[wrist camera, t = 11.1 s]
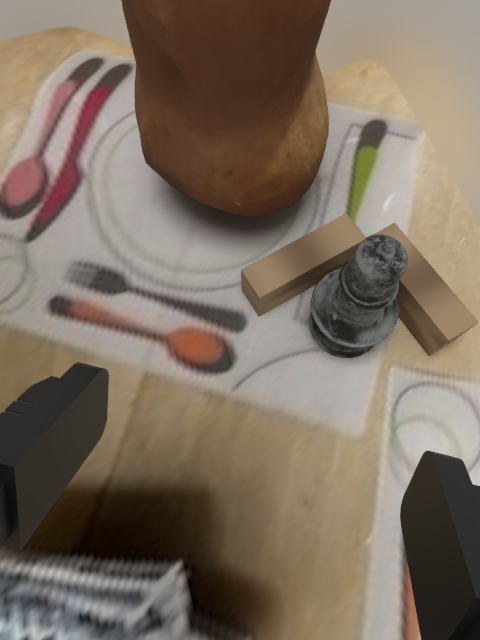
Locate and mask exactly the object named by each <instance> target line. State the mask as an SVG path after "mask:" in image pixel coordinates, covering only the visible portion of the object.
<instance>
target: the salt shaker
mask: <svg viewBox="0 0 480 640" xmlns="http://www.w3.org/2000/svg"><path fill="white" fill-rule="evenodd" d="M407 264H408V255H407V252H406V249H405V248H404V246H403V245H402V244H401V243H400V242H399V241H398V240H397V239H395V238H393V237H391V236H388V235H384V234H376V235H372V236H369V237H367V238H366V239H364V240H363V241H362V242H361V243H360V244H359V246H358V247H357V249H356V251H355V254H354V256H353V258H351V259H349V260H348V261H347V262H346V263H345V264H344V265H343V266H342V268H341V269H337V270H334V271H333V272H331V273H329V274H327V275H326V276H324V277H323V278H322V279H321V280H320V281H319V282H318V284H317V286H316V287H315V289H314V291H313V295H312V299H311V314H310V319H309V325H310V331H311V334H312V337H313V338H314V340H315V341H316V343H317V344H318V345H319V346H320V347H321V348H322V349H323V350H324V351H326V352H328V353H330V354H331V355H334V356H338V357H342V358H353V357H356V356H360V355H362V354H364V353H366V352H368V351H369V350H370V349H371V348H372V347H373V346H374V345H375V344H377V343H379V342H381V341H383V340H384V339H385V338H386V337H387V336H388V335H389V334H390V333H391V332H392V331H393V329H394V327H395V325H396V323H397V319H398V313H399V309H398V301H397V298H396V295H397V293H398V288H399V280H400V279H401V277H402V276H403V274H404V273H405V271H406V269H407Z"/></svg>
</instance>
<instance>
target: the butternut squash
mask: <svg viewBox="0 0 480 640" xmlns="http://www.w3.org/2000/svg"><path fill="white" fill-rule="evenodd" d="M330 2H331V0H122V6H123V11H124V16H125V20H126V23H127V28H128V32H129V36H130V41H131V45H132V49H133V53H134V56H135V60H136V76H135V112H136V118H137V123H138V127H139V132H140V138H141V146H142V152H143V155H144V158H145V161H146V163H147V164H148V165H149V166H150V167H151V168H152V169H153V170H154V171H156V172H157V173H158V174H159V175H160V176H161V177H162V178H163V179H164V180H165V181H167V182H168V183H169V184H170V185H171V186H173V187H174V188H175V189H177V190H178V191H180V192H181V193H183V194H185V195H186V196H188V197H190V198H192V199H194V200H196V201H199V202H201V203H203V204H205V205H208V206H211V207H213V208H216V209H219V210H222V211H226V212H229V213H232V214H236V215H241V216H249V217H260V216H265V215H268V214H271V213H274V212H276V211H279V210H282V209H285V208H288V207H290V206H292V205H293V204H294V203H295V202H296V200H297V199H299V198H300V197H301V196H302V195H303V194H304V193H305V192H307V190H308V189H309V188H310V186H311V185H312V183H313V181H314V179H315V177H316V174H317V172H318V170H319V167H320V165H321V162H322V159H323V155H324V151H325V146H326V141H327V137H328V124H329V119H328V108H327V100H326V94H325V88H324V82H323V78H322V75H321V71H320V68H319V64H318V61H317V57H316V52H315V51H316V47H317V44H318V40H319V37H320V34H321V31H322V28H323V25H324V21H325V19H326V15H327V13H328V9H329V6H330Z"/></svg>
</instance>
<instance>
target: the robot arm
mask: <svg viewBox="0 0 480 640" xmlns="http://www.w3.org/2000/svg"><path fill="white" fill-rule="evenodd" d="M108 381H109V375H108V371H107V370H106V369H103V368H99V367H95V366H91V365H87V364H83V363H79V362H78V363H75V364H74V365H73V366H72V367H71V368H70V369H69V370H68V371H67V372H66V373H65V374H64V375H63V376H62V377H61V378H57V377H53V376H51V377H49V378H47V379H45V380H43V381H40V382H38V383H36V384H34V385H32V386H31V387H30V388H28V389H27V390H26V391H25V392H24V393H23V394H22V395H21V396H20V397H18V398H17V401H14V402H13V403H12V404H11V405H10V406H8V407H7V408H6V409H5V412H2V413H1V414H0V548H1V547H2V545H6V546H9V547H12V548H16V549H19V550H22V548H23V547H24V545H25V544H26V543H27V541H28V540H29V538H30V537H31V536H32V534H33V533H34V531H35V530H36V529H37V527H38V526H39V524H40V523H41V522H42V520H43V519H44V517H45V516H46V514H47V513H48V512H49V510H50V509H51V507H52V506H53V505H54V503H55V502H56V500H57V499H58V498H59V496H60V495H61V493H62V492H63V491H64V489H65V488H66V486H67V485H68V484H69V482H70V481H71V479H72V478H73V477H74V475H75V474H76V472H77V471H78V470H79V468H80V467H81V465H82V464H83V462H84V461H85V460H86V458H87V457H88V455H89V454H90V453H91V451H92V450H93V448H94V447H95V446H96V444H97V443H98V441H99V440H100V438H101V436H102V434H103V431H104V429H105V425H106V421H107V406H108ZM400 519H401V527H402V533H403V538H404V544H405V550H406V555H407V561H408V567H409V572H410V578H411V584H412V589H413V595H414V601H415V606H416V612H417V618H418V623H419V629H420V635H421V640H480V486H477V485H473V484H472V482H471V480H470V477H469V475H468V472H467V470H466V467H465V464H464V462H463V461H462V460H461V459H459V458H455V457H451V456H447V455H443V454H439V453H435V452H431V451H426V452H425V453H424V454H423V455H422V457H421V459H420V462H419V464H418V466H417V468H416V470H415V472H414V475H413V477H412V479H411V481H410V483H409V486H408V488H407V490H406V492H405V494H404V497H403V500H402V504H401V513H400Z"/></svg>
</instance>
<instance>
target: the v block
mask: <svg viewBox="0 0 480 640" xmlns="http://www.w3.org/2000/svg"><path fill="white" fill-rule="evenodd" d="M376 234H384V235H388V236H391V237H393V238H395V239H397V240H398V241H399V242H400V243H401V244H402V245H403V246H404V248H405V249H406V252H407V255H408V264H407V269H406V271H405V273H404V274H403V276H402V277H401V279H400V280H399V288H398V293H397V295H396V298H397V301H398V309H399V313H398V317H399V318H400V319H401V320H402V322H403V323H404V324H405V326H406V327H407V328H408V329H409V331H410V332H411V333H412V335H413V336H414V337H415V338H416V340H417V341H418V342H419V344H420V345H421V346H422V347H423V349H424V350H425V351H426V353H427V354H428V355H431V354H432V353H434V352H436V351H437V350H439V349H440V348H442V347H444V346H445V345H447V344H448V343H450V342H452V341H453V340H455V339H456V338H458V337H459V336H460V335H462V334H463V333H465V332H466V331H467V330H469V329H470V328H471V327H473V326H474V325H476V324H477V323H478V321H477V320H476V319H475V317H474V316H473V315H472V314H471V313H470V312H469V310H468V309H467V308H466V307H465V306H464V304H463V303H462V302H461V301H460V300H459V299H458V297H457V296H456V295H455V294H454V293H453V291H452V290H451V289H450V288H449V287H448V285H447V284H446V283H445V282H444V281H443V280H442V278H441V277H440V276H439V275H438V274H437V272H436V271H435V270H434V269H433V268H432V267H431V265H430V264H429V263H428V262H427V261H426V259H425V258H424V257H423V256H422V255H421V253H420V252H419V251H418V250H417V249H416V248H415V246H414V245H413V244H412V243H411V242H410V240H409V239H408V238H407V237H406V236H405V235H404V233H403V232H402V231H401V230H400V229H399V227H398V226H397V225H396V224H395V223H393V224H392V225H390V226H388V227H386V228H384V229H383V230H381V231H379V232H377V233H375V234H374V235H376ZM364 239H366V237H365V236H364V234H363V233H362V232H361V231H360V229H359V228H358V227H357V226H356V225H355V223H354V222H353V221H352V220H351V218H350V217H349V216H348V215H347V213H346V214H344V215H342V216H340V217H338V218H337V219H335V220H333V221H331V222H329V223H327V224H325V225H324V226H322V227H320V228H318V229H316V230H314V231H312V232H311V233H309V234H307V235H305V236H303V237H301V238H299V239H298V240H296V241H294V242H292V243H290V244H288V245H286V246H285V247H283V248H281V249H279V250H277V251H275V252H274V253H272V254H270V255H268V256H266V257H264V258H262V259H261V260H259V261H257V262H255V263H253V264H251V265H249V266H248V267H246V268H244V269H242V270H241V279H242V291H243V293H244V294H245V296H246V297H247V299H248V300H249V302H250V304H251V305H252V307H253V308H254V310H255V311H256V313H257V314H258V316H260V315H262V314H264V313H266V312H267V311H269V310H271V309H273V308H275V307H276V306H278V305H280V304H282V303H283V302H285V301H287V300H289V299H291V298H292V297H294V296H296V295H298V294H299V293H301V292H303V291H305V290H307V289H308V288H310V287H312V286H314V285H315V284H317V283H318V282H319V281H320V280H321V279H322V278H323V277H324V276H326V275H327V274H329V273H331V272H333V271H334V270H337V269H341V268H342V266H343V265H344V264H345V263H346V262H347V261H348V260H349V259H351V258H353V256H354V254H355V251H356V249H357V247H358V246H359V244H360V243H361V242H362V241H363V240H364Z"/></svg>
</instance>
